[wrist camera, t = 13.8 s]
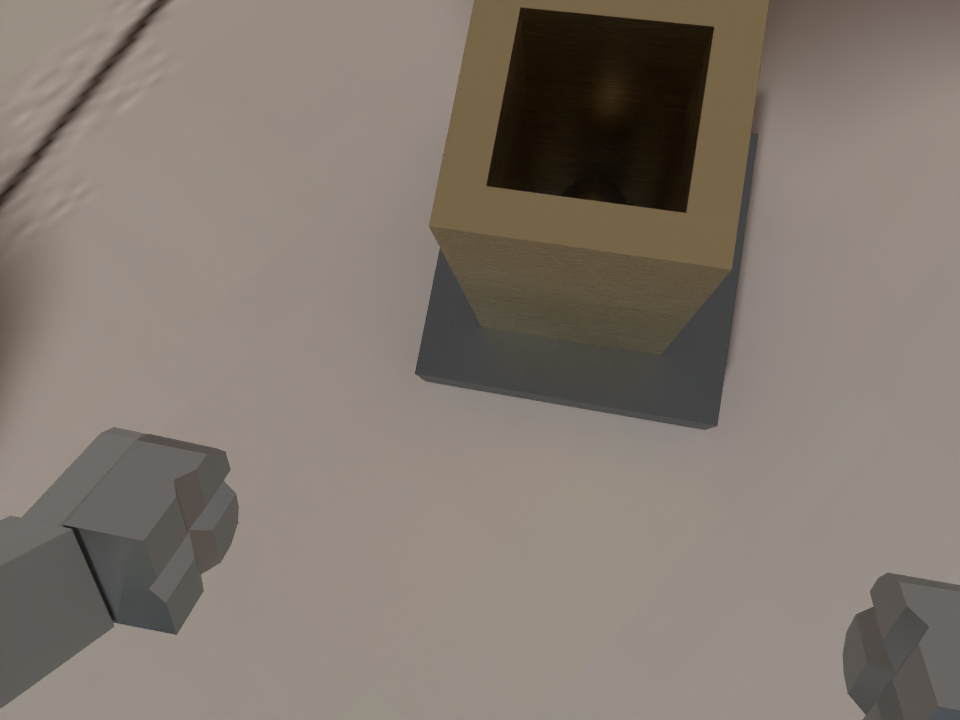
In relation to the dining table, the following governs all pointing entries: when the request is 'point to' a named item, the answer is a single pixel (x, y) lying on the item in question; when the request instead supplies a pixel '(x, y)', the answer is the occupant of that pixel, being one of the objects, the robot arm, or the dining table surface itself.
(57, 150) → the dining table surface
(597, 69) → the sleeve
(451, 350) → the hub
